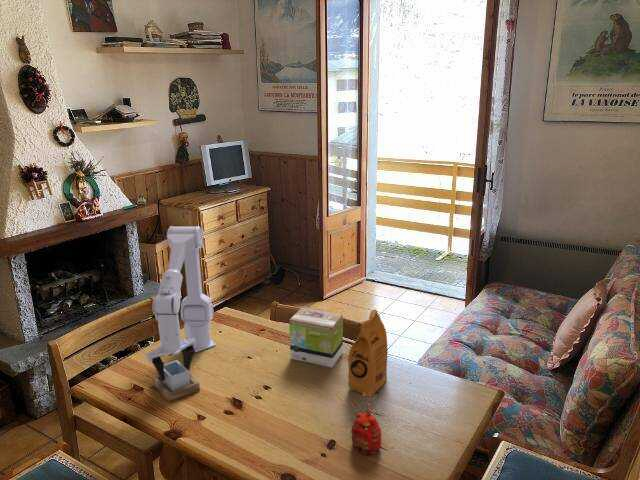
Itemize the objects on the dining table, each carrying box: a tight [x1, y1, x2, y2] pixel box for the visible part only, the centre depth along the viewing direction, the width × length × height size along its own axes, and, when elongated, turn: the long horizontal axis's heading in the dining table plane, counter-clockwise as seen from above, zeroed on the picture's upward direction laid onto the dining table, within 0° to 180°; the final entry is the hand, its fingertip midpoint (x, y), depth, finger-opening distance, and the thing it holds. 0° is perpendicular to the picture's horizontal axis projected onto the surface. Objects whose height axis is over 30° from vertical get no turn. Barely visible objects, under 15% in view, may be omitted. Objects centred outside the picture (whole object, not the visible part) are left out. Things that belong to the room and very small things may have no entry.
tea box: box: [288, 307, 344, 369], centre depth 168 cm, size 15×10×15 cm, turn 68°
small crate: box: [161, 359, 190, 392], centre depth 154 cm, size 8×6×6 cm
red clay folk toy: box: [350, 389, 382, 456], centre depth 127 cm, size 8×7×15 cm
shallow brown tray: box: [152, 373, 201, 404], centre depth 155 cm, size 12×10×2 cm
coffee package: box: [347, 308, 389, 397], centre depth 152 cm, size 10×12×22 cm
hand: (174, 374), depth 154 cm, fingers open, 7 cm apart
